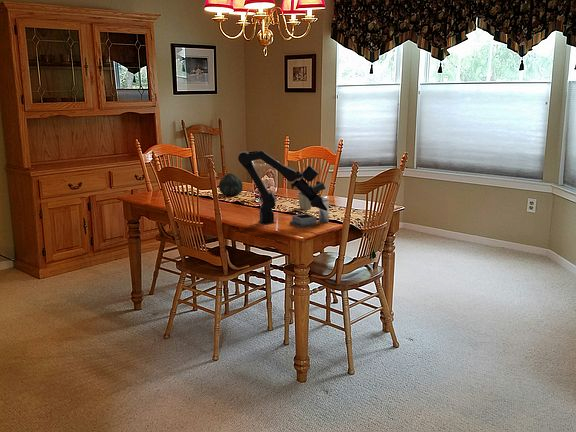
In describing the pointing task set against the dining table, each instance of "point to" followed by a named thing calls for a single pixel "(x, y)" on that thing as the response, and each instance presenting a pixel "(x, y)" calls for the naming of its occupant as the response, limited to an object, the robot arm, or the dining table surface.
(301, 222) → the grey square tray
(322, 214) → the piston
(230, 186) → the squash
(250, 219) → the dining table surface
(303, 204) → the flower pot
